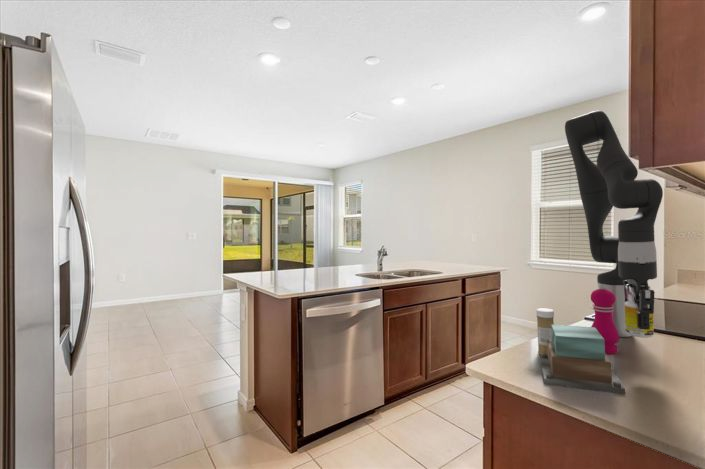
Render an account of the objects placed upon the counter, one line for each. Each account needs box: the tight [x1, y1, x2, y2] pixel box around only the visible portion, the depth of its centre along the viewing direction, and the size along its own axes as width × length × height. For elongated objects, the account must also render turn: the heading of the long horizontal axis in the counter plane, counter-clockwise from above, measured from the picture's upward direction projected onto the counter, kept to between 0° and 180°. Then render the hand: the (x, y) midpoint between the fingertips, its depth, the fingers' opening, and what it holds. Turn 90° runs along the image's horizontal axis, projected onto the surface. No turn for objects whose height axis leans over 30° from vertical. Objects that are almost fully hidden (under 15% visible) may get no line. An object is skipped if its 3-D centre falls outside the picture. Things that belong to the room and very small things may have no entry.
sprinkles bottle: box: [535, 307, 555, 356], centre depth 102 cm, size 5×5×13 cm
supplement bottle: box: [625, 294, 655, 339], centre depth 87 cm, size 6×6×10 cm
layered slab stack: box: [539, 324, 626, 395], centre depth 88 cm, size 16×16×11 cm
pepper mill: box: [590, 284, 620, 355], centre depth 103 cm, size 7×7×20 cm
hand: (639, 324), depth 87 cm, fingers closed on supplement bottle, 5 cm apart
